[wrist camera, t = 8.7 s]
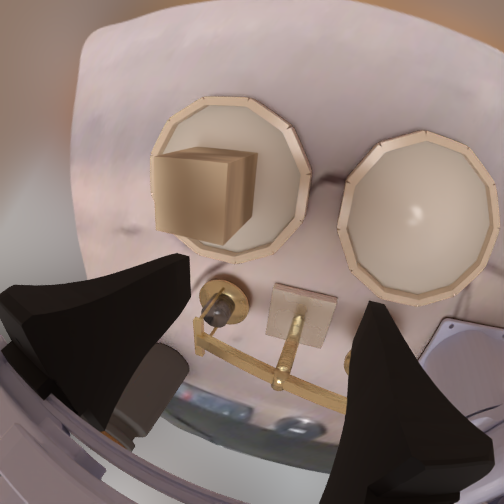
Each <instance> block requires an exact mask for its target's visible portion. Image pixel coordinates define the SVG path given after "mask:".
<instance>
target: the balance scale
mask: <svg viewBox="0 0 504 504" xmlns="http://www.w3.org/2000/svg"><path fill="white" fill-rule="evenodd" d="M199 298H200V303H201V305H202V307H203V309H202V311H201V313H202V315H201V316H200V318H198V317H195V318H194V320H193V328H194V342H195V354H196V355H199V356H202V357H203V355H204V354H205V350H207V351H209V352H210V353H212V354H214V355H216V356H218V357H219V358H221V359H223V360H225V361H227V362H229V363H231V364H233V365H234V366H236V367H238V368H240V369H242V370H244V371H246V372H248V373H250V374H252V375H254V376H256V377H258V378H260V379H262V380H264V381H266V382H269V383H271V387H272V388H273V389H274V390H276V391H282V390H286V391H288V392H290V393H293V394H295V395H297V396H300V397H302V398H304V399H307V400H309V401H311V402H314V403H316V404H319V405H321V406H324V407H326V408H329V409H331V410H334V411H337V412H339V413H342V414H345V415H346V405H347V397H344V396H341V395H339V394H336V393H334V392H331V391H328V390H326V389H323V388H321V387H318V386H316V385H314V384H311V383H309V382H306V381H304V380H302V379H299V378H297V377H295V376H292V375H290V372H291V368H292V365H293V362H294V358H295V355H296V352H297V348H298V345H299V343H300V344H304V345H308V346H312V347H316V348H321V347H322V344H323V342H324V339H325V336H326V333H327V331H328V328H329V325H330V322H331V319H332V316H333V313H334V310H335V307H336V304H337V298H336V297H332V296H328V295H324V294H319V293H315V292H311V291H307V290H303V289H298V288H294V287H290V286H286V285H282V284H278V283H275V285H274V287H273V291H272V297H271V304H270V310H269V316H268V322H267V328H266V335H269V336H273V337H277V338H280V339H284V340H286V341H285V344H284V347H283V350H282V353H281V355H280V358H279V361H278V364H277V367H276V368H274V367H272V366H270V365H268V364H266V363H264V362H262V361H259V360H257V359H255V358H253V357H251V356H249V355H247V354H245V353H243V352H241V351H239V350H237V349H235V348H233V347H231V346H229V345H227V344H225V343H223V342H221V341H220V340H218V339H216V338H214V337H212V336H213V334H214V333H215V331H216V330H217V328H219V327H223V326H225V325H226V324H237V323H240V322H242V321H243V320H244V319H245V318H246V316H247V314H248V312H249V302H248V299H247V297H246V295H245V294H244V292H243V291H242V290H241V289H240V288H239V287H238V286H236V285H235V284H233V283H231V282H229V281H226V280H222V279H214V280H211V281H208V282H207V283H206V284H205V285H204V286H203V287H202V288H201V290H200V294H199ZM204 320H205V321H206V322H207V323H208V324H209V325H211V326H213V327H215V328H214V329H213V331H212V332H211V334H210V335H208V334H206V333H205V332H204ZM351 350H352V349H351ZM351 350H350V351H349V352H348V354H347V355H346V357H345V361H344V369H345V371H346V373H347V374H348V375H349V362H350V356H351Z"/></svg>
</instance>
